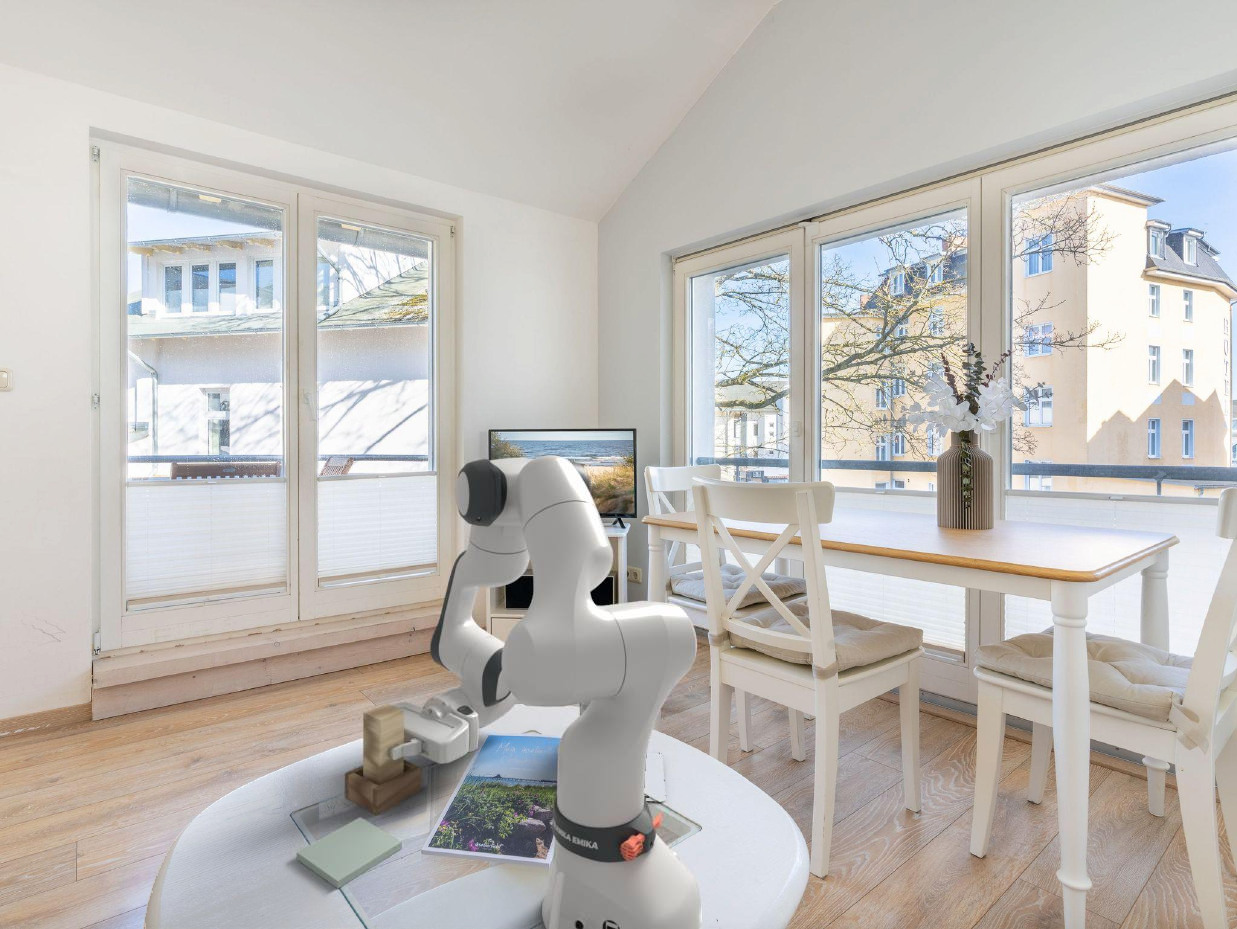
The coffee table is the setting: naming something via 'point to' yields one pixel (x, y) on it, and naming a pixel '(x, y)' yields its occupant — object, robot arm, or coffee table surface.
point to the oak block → (382, 743)
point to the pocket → (382, 788)
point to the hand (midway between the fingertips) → (378, 748)
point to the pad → (348, 851)
